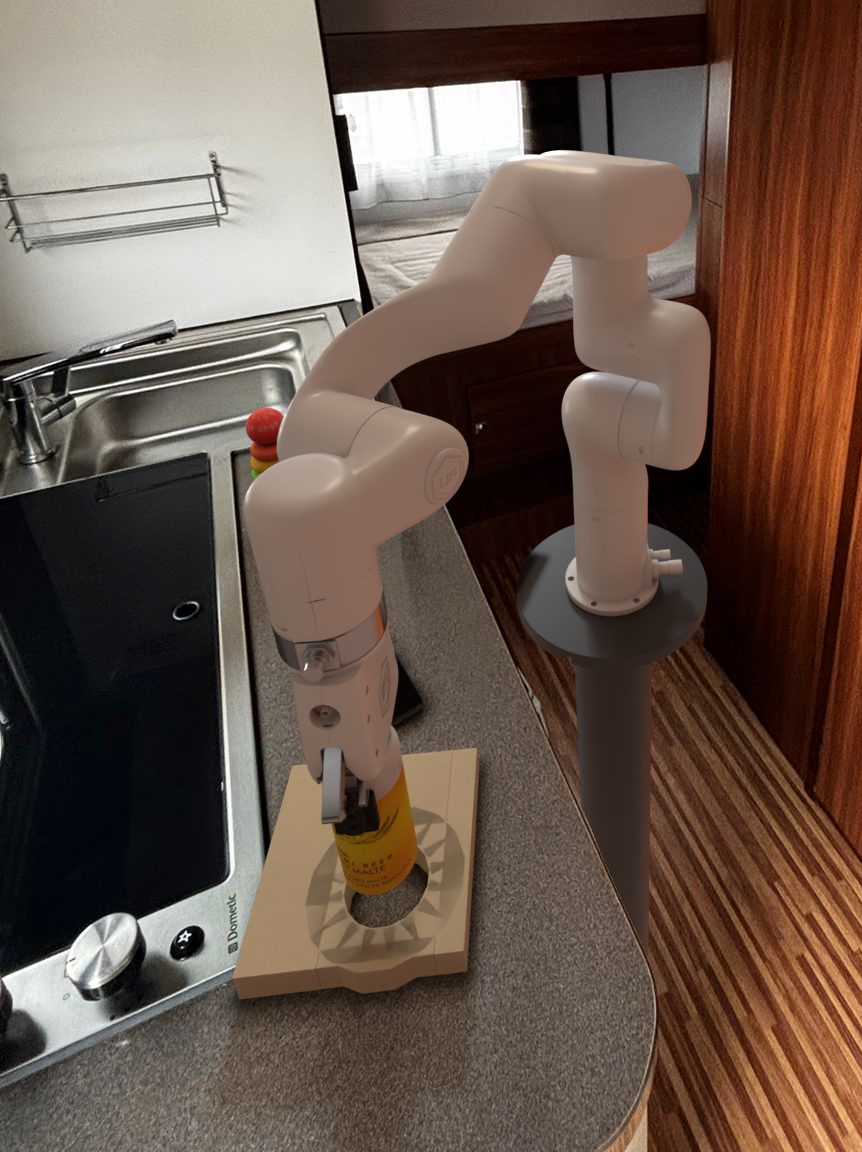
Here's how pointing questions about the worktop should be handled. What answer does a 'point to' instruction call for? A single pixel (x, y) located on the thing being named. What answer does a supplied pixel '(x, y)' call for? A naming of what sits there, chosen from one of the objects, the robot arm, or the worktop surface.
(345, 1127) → the worktop surface
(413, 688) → the smartphone
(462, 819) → the pad base
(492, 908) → the worktop surface
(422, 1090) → the worktop surface
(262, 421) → the stacking toy
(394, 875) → the beer can
